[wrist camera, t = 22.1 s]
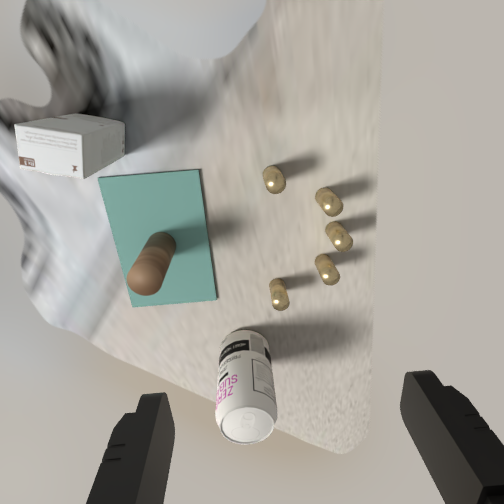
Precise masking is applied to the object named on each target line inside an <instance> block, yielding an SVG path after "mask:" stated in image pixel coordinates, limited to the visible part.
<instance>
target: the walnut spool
mask: <svg viewBox="0 0 504 504" xmlns="http://www.w3.org/2000/svg"><path fill="white" fill-rule="evenodd" d="M175 250H176V242H175V240H174V238H173V237H172V236H171V235H169V234H168V233H165V232H156V233H154V234H152V235H151V236H150V237H149V239H148V241H147V242H146V244H145V246H144V247H143V249H142V251H141V252H140V254H139V256H138V257H137V259H136V261H135V262H134V264H133V266H132V267H131V269H130V271H129V272H128V274H127V278H126V279H127V284H128V286H129V288H130V289H131V290H132V291H133V292H135V293H137V294H139V295H143V296H150V295H153V294H155V293H157V292H158V291H159V290H160V288H161V286H162V284H163V281H164V278H165V276H166V273H167V271H168V268H169V266H170V263H171V260H172V258H173V255H174V253H175Z"/></svg>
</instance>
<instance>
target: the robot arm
mask: <svg viewBox="0 0 504 504" xmlns="http://www.w3.org/2000/svg"><path fill="white" fill-rule="evenodd" d="M400 410H401V415H402V418H403V421H404V423H405V426H406V428H407V430H408V431H409V433H410V435H411V437H412V439H413V441H414V443H415V445H416V447H417V449H418V451H419V453H420V455H421V457H422V459H423V461H424V463H425V465H426V467H427V469H428V471H429V473H430V475H431V476H432V478H433V480H434V482H435V484H436V486H437V488H438V490H439V492H440V494H441V496H442V498H443V500H444V502H445V504H504V445H503V444H502V443H501V441H500V440H499V439H498V437H497V436H496V435H495V433H494V432H493V431H492V430H490V428H489V426H488V424H487V423H486V422H485V420H484V419H483V418H482V417H480V415H479V412H478V411H477V410H476V408H475V407H474V406H473V405H472V403H471V402H470V401H469V399H468V398H467V397H465V396H464V395H463V394H462V393H460V392H459V391H458V390H456V389H455V388H454V387H452V386H443V385H442V383H441V382H440V380H439V379H438V378H437V376H436V375H435V374H434V373H433V372H432V371H431V370H425V371H414V372H407V373H406V374H405V378H404V384H403V390H402V396H401V402H400ZM174 439H175V427H174V421H173V417H172V413H171V409H170V405H169V401H168V397H167V394H166V393H165V392H164V393H153V394H143V395H142V396H141V398H140V400H139V403H138V406H137V409H136V412H135V413H125V415H124V416H123V417H122V418H121V420H120V421H119V422H118V423H117V425H116V426H115V427H114V429H113V432H112V434H111V437H110V440H109V442H108V447H107V449H106V451H105V453H104V456H103V459H102V463H101V464H100V467H99V470H98V472H97V475H96V478H95V481H94V483H93V486H92V489H91V491H90V494H89V497H88V500H87V502H86V504H163V502H164V496H165V491H166V485H167V480H168V474H169V469H170V463H171V457H172V451H173V446H174Z"/></svg>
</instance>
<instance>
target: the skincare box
mask: <svg viewBox="0 0 504 504" xmlns="http://www.w3.org/2000/svg"><path fill="white" fill-rule="evenodd" d="M15 132H16V140H17V147H18V155H19V163H20V168H21V169H23V170H30V171H36V172H43V173H46V174H49V175H55V176H67V177H74V178H81V179H85V178H87V177H89V176H91V175H92V174H94V173H96V172H97V171H99V170H101V169H103V168H104V167H106V166H108V165H110V164H111V163H113V162H115V161H117V160H118V159H120V158H122V157H123V156H124V155H125V124H124V123H123V122H120V121H117V120H112V119H108V118H103V117H97V116H91V115H84V114H70V115H64V116H58V117H52V118H47V119H41V120H36V121H31V122H26V123H20V124H15Z"/></svg>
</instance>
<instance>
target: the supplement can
mask: <svg viewBox="0 0 504 504" xmlns="http://www.w3.org/2000/svg"><path fill="white" fill-rule="evenodd" d="M276 420H277V405H276V397H275V389H274V382H273V374H272V366H271V358H270V351H269V344H268V342H267V340H266V339H265V338H264V337H263V336H262V335H261V334H259V333H257V332H254V331H251V330H240V331H235V332H233V333H231V334H229V335H227V336H226V338H225V339H224V340H223V341H222V343H221V346H220V352H219V368H218V383H217V398H216V422H217V424H218V426H219V427H220V431H221V433H222V435H223V436H224V437H225V438H227V439H228V440H229V441H231V442H234V443H237V444H254V443H258V442H260V441H262V440H265V439H266V438H267V437H268V436H269V435H270V434H271V433H272V431H273V429H274V424H275V422H276Z"/></svg>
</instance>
